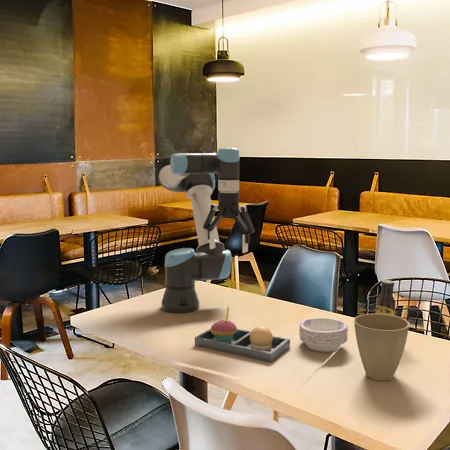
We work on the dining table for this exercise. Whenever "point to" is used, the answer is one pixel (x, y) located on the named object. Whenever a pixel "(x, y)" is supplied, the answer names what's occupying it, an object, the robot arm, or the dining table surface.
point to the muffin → (261, 338)
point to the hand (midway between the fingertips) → (228, 250)
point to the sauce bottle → (386, 299)
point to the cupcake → (224, 330)
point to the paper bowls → (323, 333)
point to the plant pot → (380, 343)
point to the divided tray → (243, 345)
